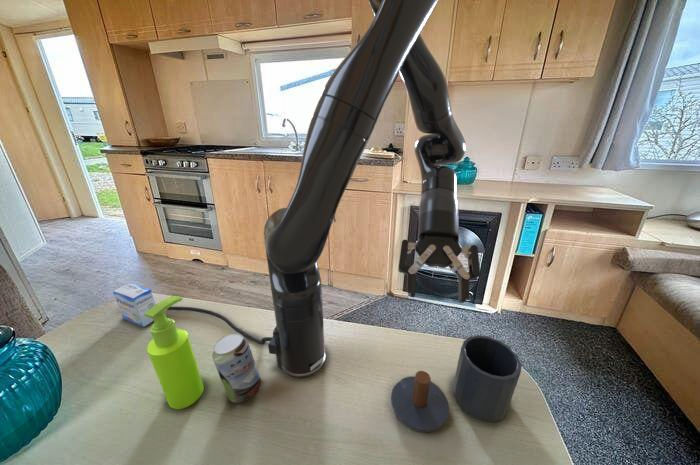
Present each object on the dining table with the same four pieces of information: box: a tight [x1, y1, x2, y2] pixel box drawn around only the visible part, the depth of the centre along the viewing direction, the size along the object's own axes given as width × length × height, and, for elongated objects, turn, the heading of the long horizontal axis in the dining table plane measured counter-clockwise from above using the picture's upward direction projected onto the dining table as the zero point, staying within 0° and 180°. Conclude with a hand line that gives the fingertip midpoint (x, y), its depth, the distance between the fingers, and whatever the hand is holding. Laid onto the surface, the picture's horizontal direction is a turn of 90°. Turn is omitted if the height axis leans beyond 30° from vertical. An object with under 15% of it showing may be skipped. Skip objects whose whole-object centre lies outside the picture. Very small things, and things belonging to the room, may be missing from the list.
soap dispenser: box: [144, 295, 205, 410], centre depth 48 cm, size 6×7×20 cm
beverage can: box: [211, 332, 262, 404], centre depth 50 cm, size 6×7×12 cm
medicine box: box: [112, 282, 157, 328], centre depth 69 cm, size 8×4×9 cm, turn 68°
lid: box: [390, 370, 450, 433], centre depth 49 cm, size 10×10×7 cm
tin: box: [452, 334, 523, 423], centre depth 49 cm, size 9×9×10 cm
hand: (437, 299), depth 49 cm, fingers open, 8 cm apart
